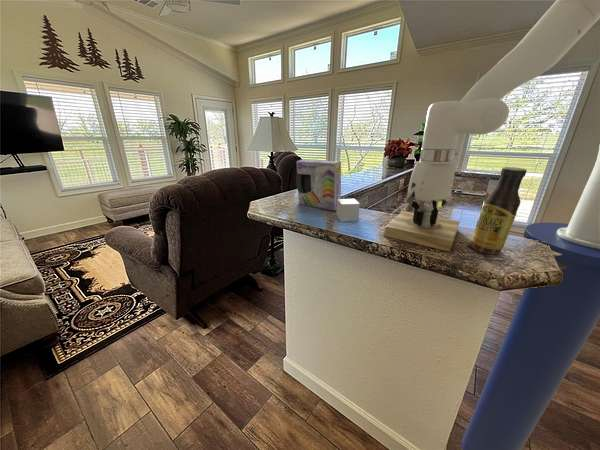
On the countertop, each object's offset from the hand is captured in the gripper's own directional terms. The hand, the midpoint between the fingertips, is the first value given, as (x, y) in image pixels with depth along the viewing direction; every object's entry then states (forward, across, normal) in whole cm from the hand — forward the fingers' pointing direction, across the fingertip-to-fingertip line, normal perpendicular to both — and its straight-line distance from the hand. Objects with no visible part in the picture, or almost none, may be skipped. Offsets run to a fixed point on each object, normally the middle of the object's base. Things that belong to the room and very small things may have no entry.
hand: (423, 222), depth 66 cm
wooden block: (+3, 0, 0) cm, 3 cm away
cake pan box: (+3, +24, -31) cm, 40 cm away
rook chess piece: (+3, 0, 0) cm, 3 cm away
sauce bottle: (+3, -9, +12) cm, 15 cm away
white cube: (+3, +17, -16) cm, 24 cm away
